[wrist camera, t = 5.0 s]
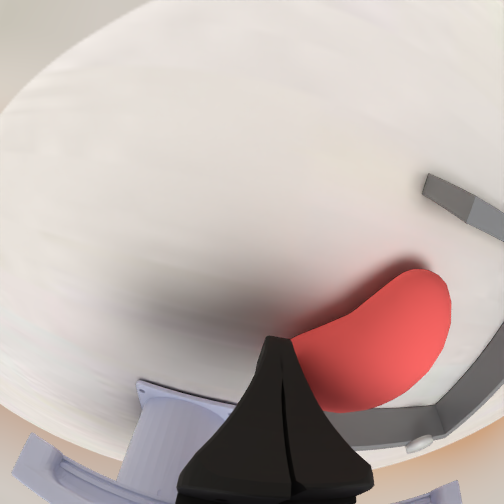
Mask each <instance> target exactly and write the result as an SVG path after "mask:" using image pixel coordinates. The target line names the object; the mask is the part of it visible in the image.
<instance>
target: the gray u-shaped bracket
mask: <svg viewBox="0 0 504 504" xmlns="http://www.w3.org/2000/svg"><path fill="white" fill-rule="evenodd" d="M422 194H423V195H424V196H426V197H428V198H429V199H431V200H433V201H434V202H436V203H437V204H439V205H440V206H442V207H443V208H445V209H446V210H448V211H449V212H451V213H452V214H454V215H455V216H457V217H458V218H460V219H461V220H463V221H464V222H465V223H467V224H469V225H471V226H473V227H476V228H478V229H480V230H482V231H484V232H486V233H488V234H490V235H492V236H493V237H495V238H497V239H499V240H501V241H503V242H504V213H503V212H501V211H500V210H498V209H496V208H495V207H493V206H492V205H490V204H488V203H487V202H485V201H483V200H482V199H480V198H478V197H477V196H475V195H473V194H471V193H469V192H467V191H465V190H463V189H461V188H459V187H457V186H455V185H453V184H451V183H449V182H447V181H445V180H442V179H440V178H438V177H436V176H434V175H431V174H428V177H427V181H426V184H425V187H424V190H423V193H422ZM503 384H504V323H503V324H502V326H501V327H500V329H499V330H498V332H497V333H496V335H495V336H494V338H493V339H492V340H491V342H490V343H489V345H488V346H487V347H486V349H485V350H484V351H483V352H482V354H481V355H480V356H479V358H478V359H477V360H476V361H475V363H474V364H473V365H472V366H471V367H470V369H469V370H468V371H467V372H466V373H465V374H464V376H463V377H462V378H461V379H460V380H459V381H458V382H457V383H456V384H455V386H454V387H453V388H452V389H451V390H450V391H449V392H448V393H447V394H446V395H445V396H444V397H443V398H442V399H441V400H440V401H439V402H438V403H437V404H436V405H431V406H421V407H408V408H388V409H368V410H363V411H355V412H347V413H334V412H328V411H323V412H324V413H325V415H326V416H327V418H328V419H329V421H330V422H331V424H332V425H333V426H334V428H335V429H336V430H337V431H338V432H339V434H340V435H341V436H342V437H343V439H344V440H345V441H346V442H347V443H348V444H349V445H350V447H351V448H352V449H353V450H354V451H363V450H375V449H385V448H393V447H401V446H405V448H406V452H407V453H414V452H417V451H420V450H422V449H424V448H426V447H428V446H429V445H431V444H432V443H433V441H434V440H438V439H443V438H445V437H447V436H448V435H449V434H451V433H452V432H453V431H454V430H455V429H457V428H458V427H459V426H460V425H461V424H463V423H464V422H465V421H466V420H467V419H468V418H470V417H471V416H472V415H473V414H474V413H475V412H476V411H477V410H478V409H479V408H480V407H481V406H482V405H484V404H485V403H486V402H487V401H488V400H489V399H490V398H491V397H492V395H493V394H494V393H495V392H496V391H497V390H498V389H499V388H500V387H501V386H502V385H503Z"/></svg>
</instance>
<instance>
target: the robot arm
mask: <svg viewBox="0 0 504 504" xmlns="http://www.w3.org/2000/svg"><path fill="white" fill-rule="evenodd" d="M136 388H137V392H138V396H139V400H140V404H141V408H142V413H141V415H140V418H139V420H138V423H137V425H136V428H135V431H134V433H133V436H132V439H131V441H130V444H129V447H128V449H127V452H126V455H125V457H124V460H123V463H122V466H121V469H120V471H119V474H118V477H117V480H116V481H115V480H112V479H110V478H108V477H106V476H103V475H101V474H99V473H97V472H95V471H93V470H91V469H89V468H87V467H85V466H83V465H81V464H79V463H77V462H75V461H73V460H72V459H70V458H68V457H66V456H65V455H63V454H62V453H61V452H60V451H59V450H58V449H56V448H55V447H54V446H52V445H51V444H49V443H48V442H46V441H45V440H43V439H42V438H40V437H39V436H37V435H36V434H34V433H31V434H30V436H29V438H28V439H27V441H26V444H25V446H24V447H23V449H22V452H21V453H20V456H19V458H18V460H17V462H16V464H15V466H14V469H13V471H12V475H13V476H14V477H15V478H16V479H18V480H19V481H20V482H21V483H23V484H24V485H25V486H27V487H28V488H29V489H31V490H32V491H33V492H35V493H36V494H37V495H39V496H40V497H42V498H43V499H44V500H46V501H47V502H49V503H50V504H355V503H356V496H357V495H359V494H362V493H364V492H366V491H368V490H370V489H371V488H372V487H373V486H374V479H373V472H372V469H371V465H370V464H368V463H367V462H366V461H365V460H364V459H363V458H362V457H361V456H359V455H358V454H357V453H356V452H355V451H354V450H353V449H352V448H351V447H350V445H349V444H348V443H347V442H346V441H345V440H344V439H343V437H342V436H341V435H340V434H339V432H338V431H337V430H336V429H335V428H334V426H333V425H332V424H331V422H330V421H329V419H328V418H327V416H326V415H325V413H324V412H323V410H322V409H321V407H320V405H319V404H318V402H317V400H316V398H315V396H314V394H313V392H312V391H311V389H310V387H309V384H308V382H307V380H306V378H305V376H304V373H303V371H302V369H301V366H300V364H299V361H298V358H297V356H296V353H295V350H294V347H293V344H292V341H291V340H290V339H285V338H279V337H274V336H267V337H266V338H265V341H264V344H263V347H262V350H261V353H260V356H259V359H258V362H257V366H256V371H255V375H254V377H253V379H252V381H251V383H250V385H249V386H248V388H247V390H246V392H245V393H244V395H243V397H242V398H241V400H240V401H239V403H238V404H237V406H236V405H231V404H226V403H222V402H217V401H212V400H208V399H204V398H200V397H196V396H192V395H188V394H184V393H180V392H177V391H173V390H170V389H167V388H163V387H160V386H157V385H154V384H151V383H148V382H145V381H141V380H139V381H137V383H136ZM392 504H462V500H461V493H460V489H459V484H458V480H456V481H453V482H451V483H448V484H446V485H443V486H441V487H439V488H437V489H435V490H433V491H431V492H429V493H427V494H423V495H420V496H417V497H414V498H411V499H407V500H403V501H400V502H396V503H392Z"/></svg>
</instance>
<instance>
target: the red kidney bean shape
mask: <svg viewBox="0 0 504 504" xmlns="http://www.w3.org/2000/svg"><path fill="white" fill-rule="evenodd" d="M450 324H451V299H450V295H449V291H448V288H447V284H446V283H445V282H444V281H443V280H442V278H441V277H440V276H439V275H437V274H435V273H433V272H431V271H429V270H425V269H412V270H409V271H406V272H403V273H402V274H400V275H399V276H397V277H396V278H394V279H393V280H392V281H390V282H389V283H388V284H387V285H385V286H384V287H383V288H382V289H380V290H379V291H378V292H377V293H375V294H374V295H373V296H372V297H370V298H369V299H368V300H367V301H365V302H364V303H363V304H362V305H360V306H359V307H358V308H357V309H355V310H354V311H353V312H351V313H350V314H348V315H346V316H344V317H341V318H339V319H336V320H334V321H332V322H329V323H327V324H325V325H322V326H320V327H317V328H315V329H312V330H310V331H307V332H305V333H302V334H300V335H298V336H296V337H294V338H292V339H290V340H291V341H292V344H293V347H294V350H295V353H296V356H297V358H298V361H299V364H300V366H301V369H302V371H303V373H304V376H305V378H306V380H307V382H308V384H309V387H310V389H311V391H312V392H313V394H314V396H315V398H316V400H317V402H318V404H319V405H320V407H321V409H322V410H323V411H328V412H334V413H347V412H355V411H363V410H368V409H371V408H374V407H377V406H380V405H382V404H385V403H387V402H389V401H391V400H393V399H395V398H397V397H398V396H400V395H402V394H403V393H405V392H406V391H407V390H409V389H410V388H411V387H412V386H413V385H414V384H415V383H417V382H418V381H419V380H420V379H421V378H422V377H423V376H424V375H425V374H426V373H427V372H428V371H429V370H430V368H431V367H432V365H433V364H434V362H435V361H436V359H437V357H438V356H439V354H440V353H441V351H442V349H443V347H444V344H445V341H446V338H447V335H448V331H449V328H450Z"/></svg>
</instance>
